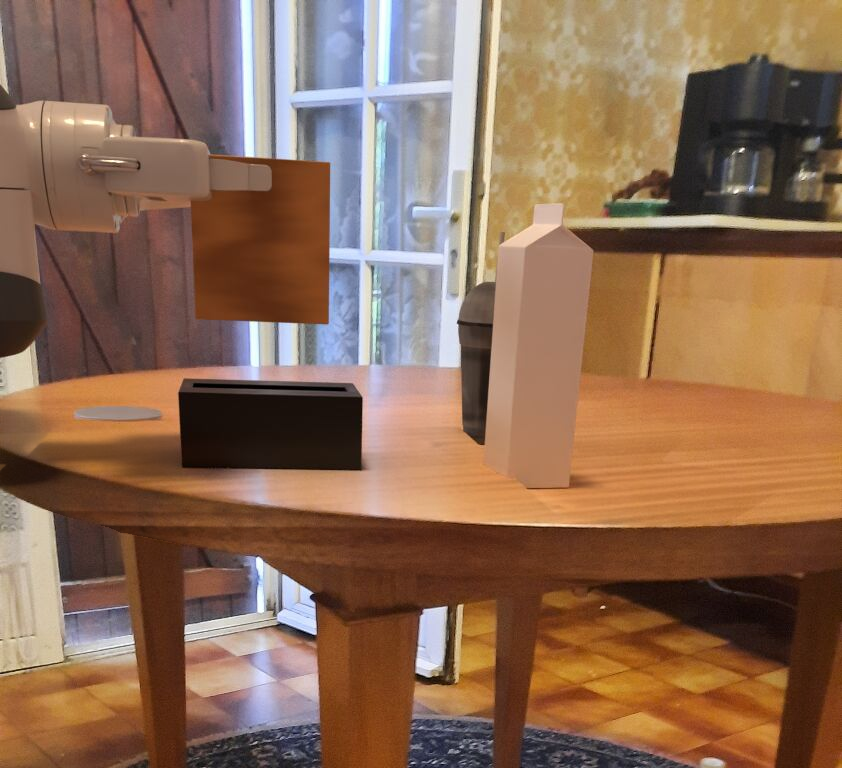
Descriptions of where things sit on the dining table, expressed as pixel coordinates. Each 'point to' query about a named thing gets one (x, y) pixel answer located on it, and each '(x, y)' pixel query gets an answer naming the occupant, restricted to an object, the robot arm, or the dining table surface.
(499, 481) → the dining table surface
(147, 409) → the plate
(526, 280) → the milk
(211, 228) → the toast
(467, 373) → the beverage cup
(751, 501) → the dining table surface
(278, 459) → the toaster
